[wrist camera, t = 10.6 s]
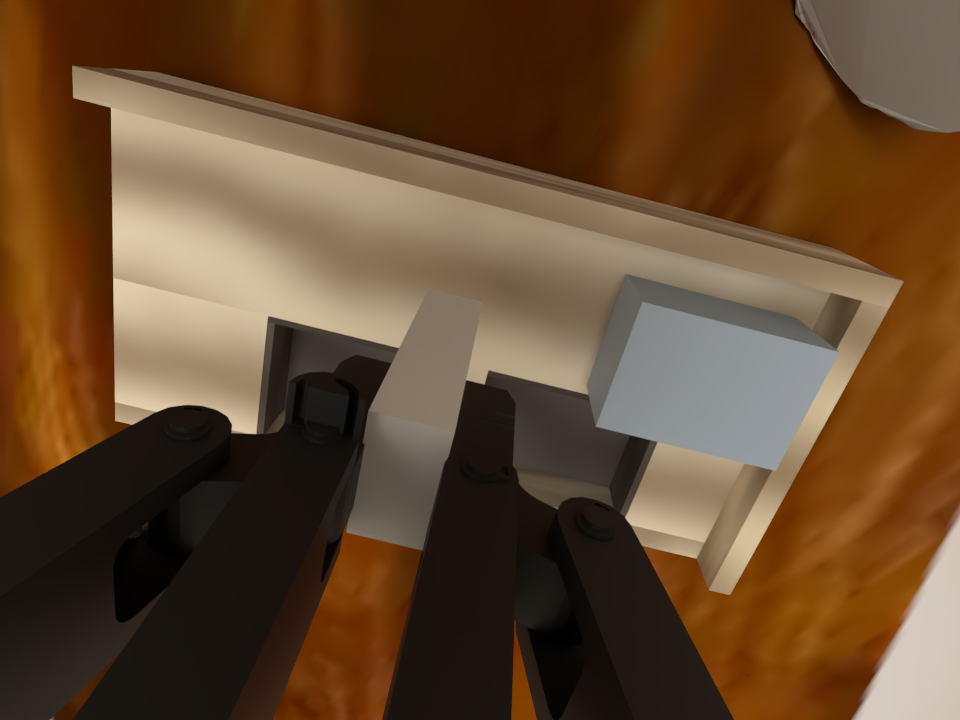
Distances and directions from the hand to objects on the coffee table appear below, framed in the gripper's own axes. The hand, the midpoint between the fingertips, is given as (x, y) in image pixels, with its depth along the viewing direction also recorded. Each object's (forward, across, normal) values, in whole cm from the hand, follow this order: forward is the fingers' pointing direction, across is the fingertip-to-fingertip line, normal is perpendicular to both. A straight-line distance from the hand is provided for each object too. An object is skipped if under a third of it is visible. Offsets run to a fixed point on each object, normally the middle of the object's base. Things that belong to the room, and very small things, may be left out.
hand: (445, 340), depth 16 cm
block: (+8, +10, -1) cm, 12 cm away
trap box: (+11, 0, -4) cm, 11 cm away
